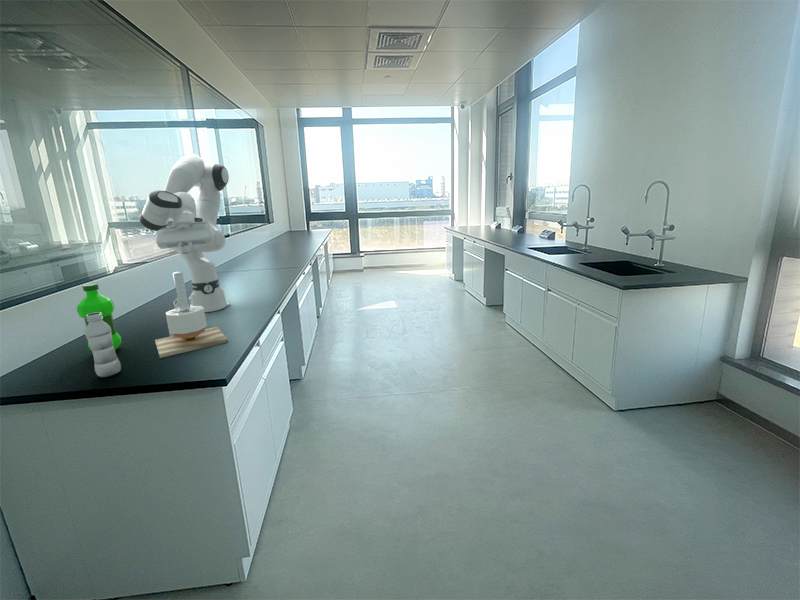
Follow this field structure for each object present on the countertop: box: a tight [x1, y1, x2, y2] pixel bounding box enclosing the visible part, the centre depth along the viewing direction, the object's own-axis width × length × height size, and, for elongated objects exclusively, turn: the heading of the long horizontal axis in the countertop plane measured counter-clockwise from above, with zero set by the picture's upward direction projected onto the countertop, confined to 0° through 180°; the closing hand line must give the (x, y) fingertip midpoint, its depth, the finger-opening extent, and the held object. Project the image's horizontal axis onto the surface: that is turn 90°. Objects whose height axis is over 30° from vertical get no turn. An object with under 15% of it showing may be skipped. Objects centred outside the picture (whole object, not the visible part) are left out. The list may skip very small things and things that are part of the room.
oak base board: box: [154, 326, 228, 359], centre depth 147 cm, size 18×22×2 cm
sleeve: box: [165, 305, 208, 334], centre depth 145 cm, size 12×12×7 cm
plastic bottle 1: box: [76, 283, 122, 352], centre depth 140 cm, size 10×10×25 cm
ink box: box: [165, 297, 180, 337], centre depth 155 cm, size 4×8×15 cm, turn 17°
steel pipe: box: [172, 271, 199, 341], centre depth 144 cm, size 6×6×26 cm
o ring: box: [174, 328, 206, 337], centre depth 146 cm, size 10×10×2 cm
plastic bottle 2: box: [84, 312, 122, 378], centre depth 120 cm, size 6×7×20 cm
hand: (186, 252), depth 153 cm, fingers closed
